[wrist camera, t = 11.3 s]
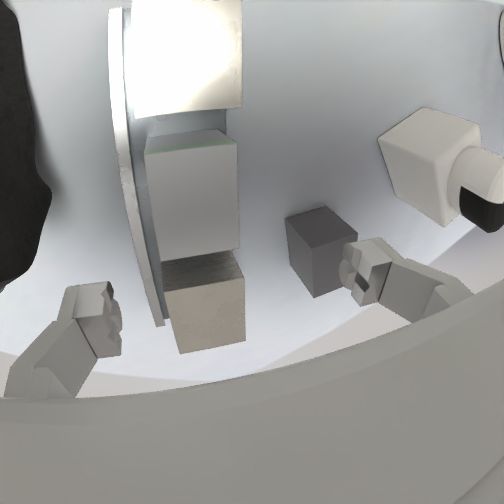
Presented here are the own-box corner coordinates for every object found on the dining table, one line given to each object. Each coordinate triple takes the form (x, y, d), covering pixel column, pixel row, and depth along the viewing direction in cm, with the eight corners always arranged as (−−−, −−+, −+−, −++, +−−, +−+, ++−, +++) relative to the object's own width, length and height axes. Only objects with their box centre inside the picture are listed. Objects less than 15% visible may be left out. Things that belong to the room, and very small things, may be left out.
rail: (219, 7, 14) (247, -22, 9) (229, 295, 27) (249, 348, 22) (113, 17, 13) (96, -11, 7) (154, 309, 26) (160, 365, 20)
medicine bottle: (436, 162, 27) (523, 211, 17) (394, 196, 27) (483, 260, 18) (422, 105, 23) (527, 142, 13) (375, 138, 23) (486, 190, 14)
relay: (325, 205, 26) (357, 232, 22) (327, 251, 28) (354, 281, 24) (284, 218, 25) (311, 248, 21) (289, 264, 28) (313, 298, 24)
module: (217, 128, 18) (237, 143, 14) (221, 212, 21) (239, 248, 17) (146, 137, 17) (143, 154, 13) (158, 222, 20) (160, 261, 16)
